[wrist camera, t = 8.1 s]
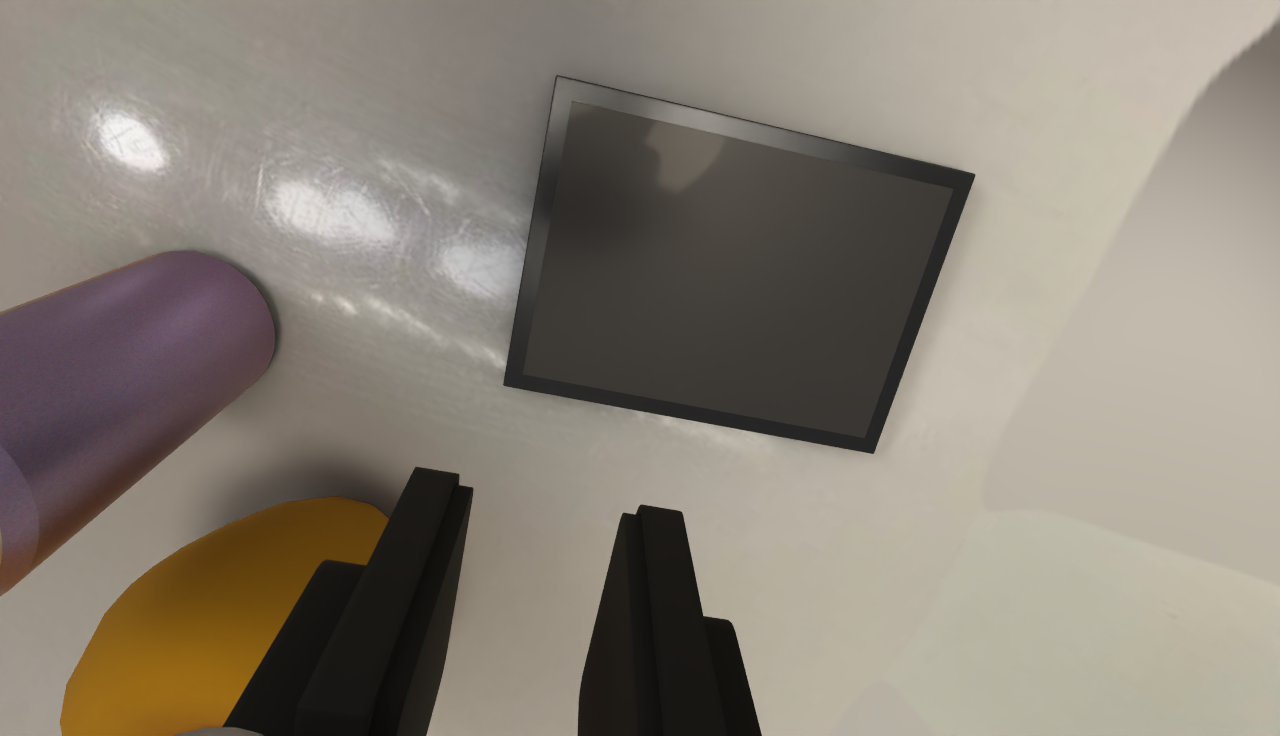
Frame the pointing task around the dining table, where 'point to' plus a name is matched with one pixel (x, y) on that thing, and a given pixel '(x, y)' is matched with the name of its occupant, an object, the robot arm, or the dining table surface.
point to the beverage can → (114, 388)
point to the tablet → (725, 268)
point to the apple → (208, 619)
